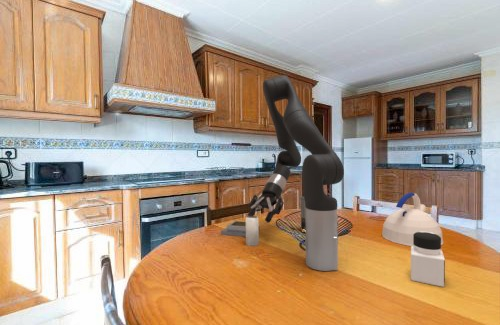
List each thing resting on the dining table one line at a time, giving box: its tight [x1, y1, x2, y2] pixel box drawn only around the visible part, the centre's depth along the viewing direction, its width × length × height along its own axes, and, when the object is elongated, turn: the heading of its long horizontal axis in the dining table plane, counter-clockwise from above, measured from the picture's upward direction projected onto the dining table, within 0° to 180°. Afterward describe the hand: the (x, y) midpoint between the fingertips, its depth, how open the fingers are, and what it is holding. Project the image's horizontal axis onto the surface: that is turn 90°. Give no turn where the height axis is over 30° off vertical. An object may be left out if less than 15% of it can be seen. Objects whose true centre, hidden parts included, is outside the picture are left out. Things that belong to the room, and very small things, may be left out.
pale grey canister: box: [245, 215, 260, 247], centre depth 97 cm, size 5×5×10 cm
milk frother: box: [299, 195, 339, 230], centre depth 113 cm, size 14×16×15 cm
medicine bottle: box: [410, 232, 446, 288], centre depth 68 cm, size 7×7×12 cm
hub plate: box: [220, 220, 246, 238], centre depth 113 cm, size 13×12×4 cm
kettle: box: [381, 192, 444, 247], centre depth 101 cm, size 20×21×18 cm
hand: (257, 219), depth 100 cm, fingers open, 8 cm apart
